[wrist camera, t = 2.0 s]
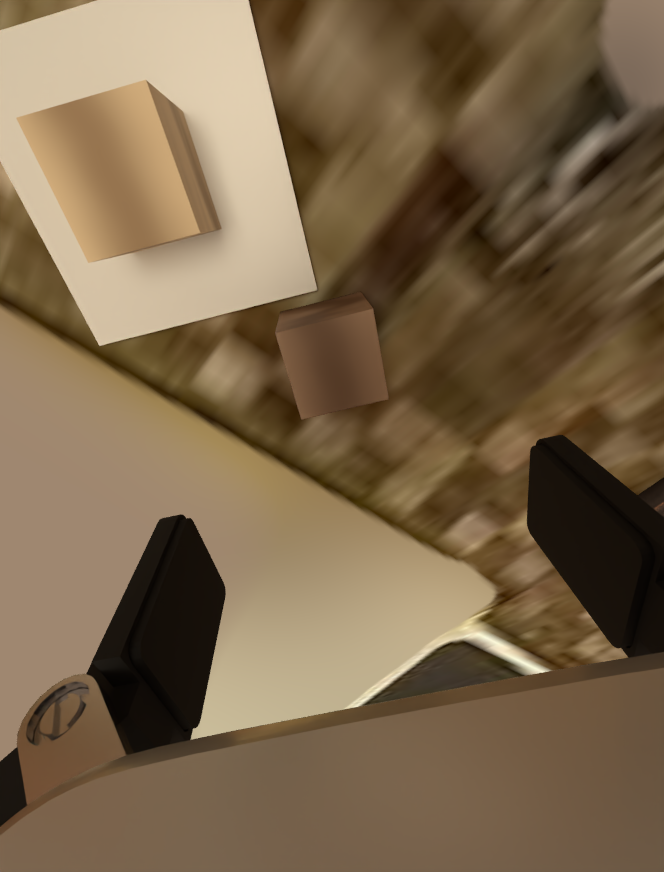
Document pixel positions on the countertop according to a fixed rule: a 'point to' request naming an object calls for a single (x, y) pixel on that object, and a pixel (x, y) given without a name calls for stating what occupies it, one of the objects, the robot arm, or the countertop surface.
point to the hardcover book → (655, 496)
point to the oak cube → (122, 170)
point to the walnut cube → (332, 355)
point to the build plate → (214, 142)
